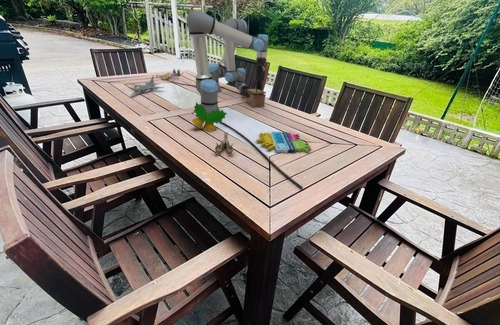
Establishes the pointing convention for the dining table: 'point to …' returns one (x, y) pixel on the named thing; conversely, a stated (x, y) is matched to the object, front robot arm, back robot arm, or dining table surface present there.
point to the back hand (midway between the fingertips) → (254, 95)
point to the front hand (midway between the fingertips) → (259, 89)
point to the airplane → (145, 87)
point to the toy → (170, 75)
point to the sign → (283, 142)
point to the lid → (256, 90)
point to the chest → (256, 99)
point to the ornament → (207, 117)
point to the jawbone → (224, 145)
